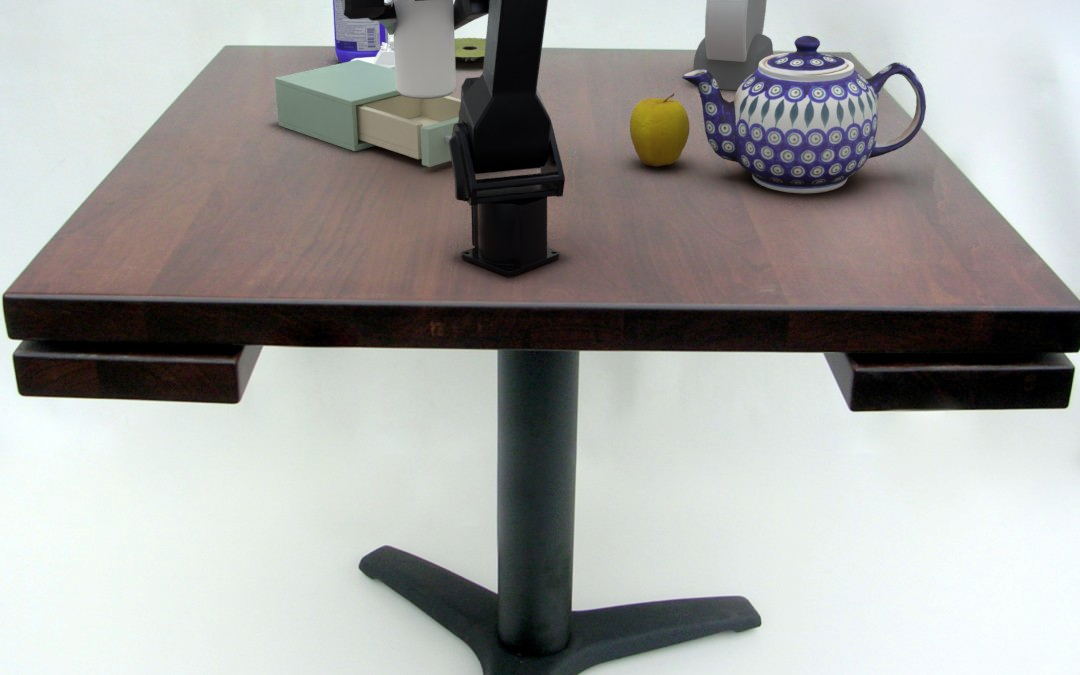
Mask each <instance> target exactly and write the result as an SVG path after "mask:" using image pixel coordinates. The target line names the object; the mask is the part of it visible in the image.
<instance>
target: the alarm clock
mask: <svg viewBox="0 0 1080 675" xmlns="http://www.w3.org/2000/svg"><path fill="white" fill-rule="evenodd" d="M767 1H768V0H706V5H705V17H704V37H703V39H702V40H701V41H700V42H699V45H698V46H697V49H696V50H695V54H694V59H693V65H692V67H693V69H692V71H695V70H700V69H704V70H708V71H709V72H710V73H711V74H712V75H713V77H714V79H715V80H716V82H717V84H718V85H719V90H726V91H727V90H728V91H737V90H738V88H739V87H740V85H741V84H742V83H743V81H744V80H745V79H746V78H748V77H749V76H750V75H752V74H753V73H754V72H755V71H756V69H757V68H758V67H759V62H760V61H761V60H762V59H764V58H766V57H768V56H771V55H774V46H773V41H772V39H771V38H770V37H769V36H768V35H765V34H763V32H764V27H765V21H766V12H767V11H766V10H767ZM694 86H695V87H696V88H697V86H696V85H694Z"/></svg>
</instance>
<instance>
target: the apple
mask: <svg viewBox="0 0 1080 675" xmlns="http://www.w3.org/2000/svg"><path fill="white" fill-rule="evenodd" d="M674 96H675V92H674V93H672V94H671V95H670V96H668V97H666V98H663V97H662V98H658V97H657V98H655V97H650V98H645V99H642V100H641V101H639V102H638V103H637V104H636V105H635V106H634V107H633V110H632V112H631V115H630V120H629V134H630V138H631V142H632V145H633V147H634V150H635V152H636V154H637V157H638V158H639V159H640V161H641V162H642V164H644V165H645V166H652V167H656V168H657V167H662V166H669V165H673V164H674V163H675V162H677V161H678V160H679V158H680V157H681V155H682V152H683V151H684V149H685V146H686V144H687V142H688V140H689V135H690V120H689V116H688V112H687V110H686V109H685V107H684V106H683V104H682V103H681V102H679V101H678V100H674V99H671V98H672V97H674Z"/></svg>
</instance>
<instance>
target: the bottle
mask: <svg viewBox="0 0 1080 675" xmlns="http://www.w3.org/2000/svg"><path fill="white" fill-rule="evenodd" d="M332 10H333V12H332V14H333V30H334V31H333V32H334V49H335V50H334V51H335V55H336V57H337V59H338V61H339V62H340V63H345V62H350V61H351V60H353V59H355V58H367V57H376V55H377V54H378V52H379V51H380V49H381V46H382V42H384V43H388V41H389V33H388V31H387V30H386V28H385V26H384V25H382V24H381V23H380V22H379V21H371V20H369V19H368V18H363V19H349V18H348V17H346V16H345V15H344V13H343V8H342V3H341V0H332Z"/></svg>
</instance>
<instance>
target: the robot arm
mask: <svg viewBox="0 0 1080 675" xmlns="http://www.w3.org/2000/svg"><path fill="white" fill-rule="evenodd" d="M415 1H424V0H415ZM341 3H342V8H343V13H344V15H345V16H346V17H348V18H349V19H363V18H368V19H369V20H371V21H379V22H380V23H381V24H382V25H384V26H385V28H386V30H387V31H388V36H394V32H395V28H396V21H397V15H396V11H395V6H394V0H341ZM548 5H549V0H453V8H454V31H457V30H459V29H460V28H462V27H464V26H466V25H468V24H469V23H471V22H473V21H475V20H477V19H480V18H482V17H485V16H487V25H486V34H485V38H486V45H485V56H483V57H484V58H483V67H482V74H481V75H480V76H477V77H476V76H475V77H466V78H465V79H464V80H463V82H462V85H461V86H460V99H461V104H460V110H459V120H458V123H455V124H454V126H453V133H452V136H451V139H450V140H449V149H450V155H451V161H450V162H451V165H452V171H453V172H452V173H453V178H454V192H455V193H454V197H455V199H456V200H457V201H460V202H461V201H462V202H464V203H465V202H467V204H468V206H470V211H471V212H470V214H471V246H473V247H472V248H469V249H467V250H463V251H462V252H460V254H461V255H460V256H461V259H463V260H466V261H468V262H470V263H473V264H475V265H478V266H481V267H483V268H485V269H488V270H491V271H493V272H496V273H499V274H501V275H503V276H507V277H514V276H516V275H519V274H522V273H524V272H526V271H529V270H531V269H535V268H537V267H539V266H542V265H544V264H547V263H550V262H552V261H555V260H558V259H559V258H560V251H558V250H556V249H553V248H550V247H548V198H550V197H556V198H560V197H563V196H564V189H565V182H566V176H565V172H564V167H563V163H562V159H561V155H560V151H559V147H558V143H557V139H556V135H555V130H554V127H553V123H552V119H551V117H550V115H549V112H548V110H547V108H546V105H545V104H544V101H543V99H542V96H541V95H540V92H539V89H538V83H539V82H538V81H539V74H540V66H541V59H542V58H541V57H542V51H543V43H544V36H545V29H546V28H545V27H546V18H547V13H548ZM538 169H540V172H539V173H529V174H519V175H510V176H509V175H508V176H507V175H506V176H498V177H497V176H496V177H488V178H480V179H479V178H478V179H477V177H476V175H486V174H498V173H505V172H507V173H509V172H516V171H517V172H519V171H528V170H538Z"/></svg>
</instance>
